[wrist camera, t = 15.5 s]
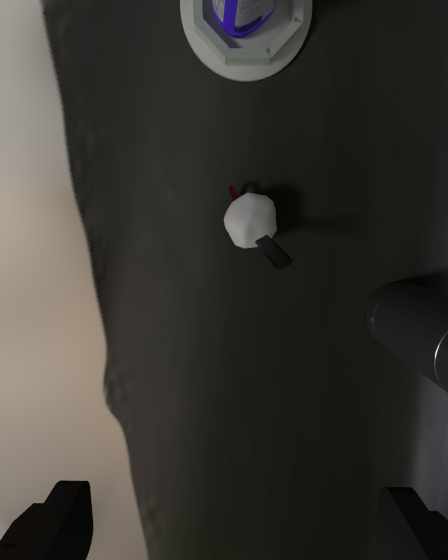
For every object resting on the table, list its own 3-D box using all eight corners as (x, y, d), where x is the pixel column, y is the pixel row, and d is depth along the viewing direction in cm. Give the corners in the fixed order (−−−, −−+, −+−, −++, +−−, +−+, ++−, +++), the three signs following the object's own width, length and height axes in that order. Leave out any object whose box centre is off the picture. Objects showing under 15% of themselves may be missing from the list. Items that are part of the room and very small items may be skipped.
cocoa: (219, 190, 41) (217, 175, 30) (268, 183, 41) (285, 165, 29) (230, 263, 43) (232, 277, 31) (277, 257, 43) (297, 267, 31)
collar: (312, -67, 36) (320, -87, 34) (308, 81, 39) (314, 73, 37) (177, -69, 35) (175, -89, 33) (183, 82, 38) (181, 73, 36)
